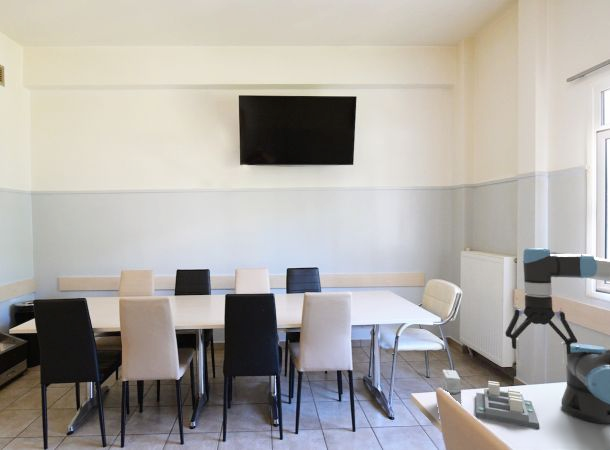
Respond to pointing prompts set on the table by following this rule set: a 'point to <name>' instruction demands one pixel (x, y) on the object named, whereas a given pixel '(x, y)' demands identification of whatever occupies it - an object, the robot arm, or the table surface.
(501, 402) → the switch board
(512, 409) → the tab
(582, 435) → the table surface
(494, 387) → the tab
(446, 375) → the ink box
